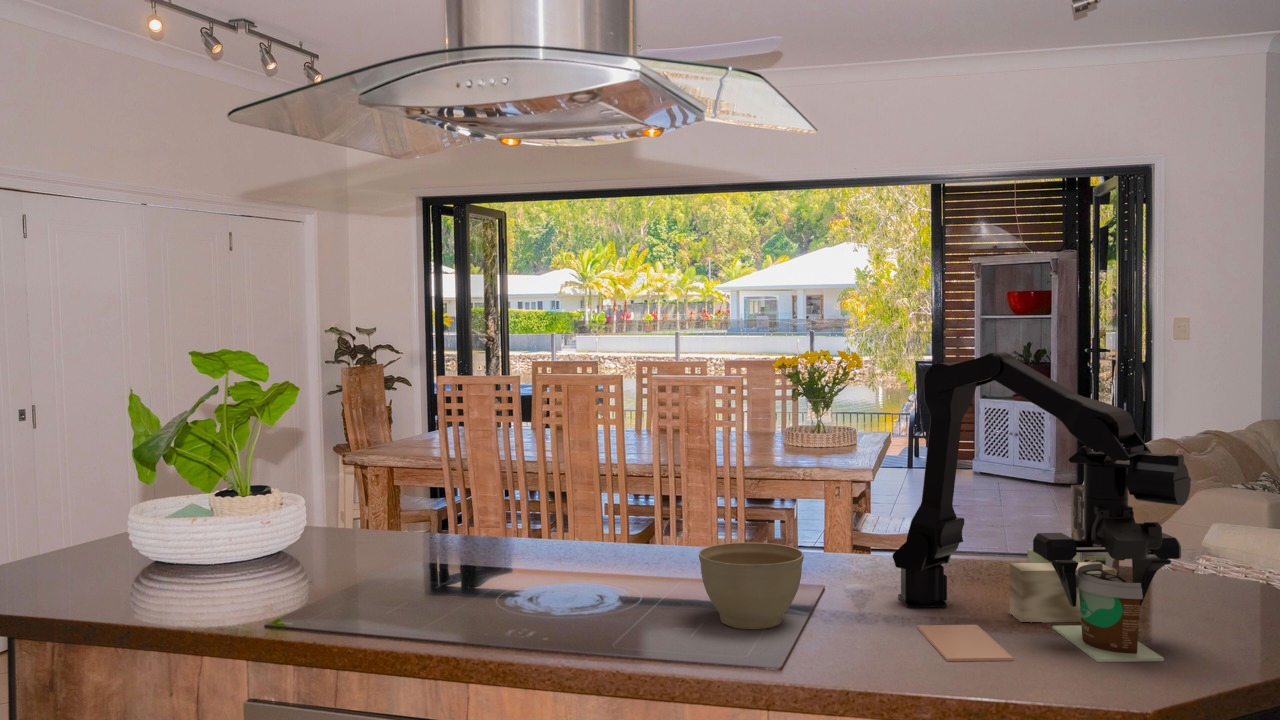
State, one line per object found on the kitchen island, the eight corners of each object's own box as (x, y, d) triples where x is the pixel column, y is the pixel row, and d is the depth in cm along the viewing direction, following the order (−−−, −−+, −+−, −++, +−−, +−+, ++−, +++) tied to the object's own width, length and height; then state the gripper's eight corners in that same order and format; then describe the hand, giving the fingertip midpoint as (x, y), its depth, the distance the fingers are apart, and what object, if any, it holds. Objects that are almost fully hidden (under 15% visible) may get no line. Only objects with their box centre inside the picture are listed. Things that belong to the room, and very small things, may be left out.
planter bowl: (824, 620, 158) (824, 551, 157) (760, 645, 146) (759, 570, 146) (743, 601, 169) (743, 536, 169) (678, 622, 158) (677, 553, 157)
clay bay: (947, 661, 138) (947, 658, 138) (917, 628, 153) (917, 625, 153) (1013, 660, 138) (1013, 657, 138) (976, 627, 153) (976, 624, 153)
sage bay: (1097, 662, 137) (1097, 659, 137) (1052, 628, 152) (1052, 625, 152) (1164, 661, 137) (1164, 658, 137) (1112, 627, 152) (1112, 625, 152)
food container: (1058, 630, 150) (1058, 563, 149) (1100, 629, 150) (1100, 562, 150) (1097, 657, 138) (1097, 584, 137) (1142, 657, 138) (1143, 584, 137)
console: (1021, 622, 155) (1021, 557, 155) (1008, 612, 161) (1008, 549, 160) (1113, 621, 155) (1113, 556, 155) (1096, 611, 161) (1097, 548, 160)
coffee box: (1120, 584, 176) (1121, 492, 176) (1081, 583, 178) (1081, 491, 177) (1107, 571, 185) (1108, 483, 185) (1070, 570, 187) (1070, 483, 186)
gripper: (1063, 508, 136) (1063, 623, 136) (1203, 506, 136) (1202, 621, 136) (1031, 493, 147) (1031, 600, 147) (1160, 492, 147) (1160, 599, 147)
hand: (1105, 605), depth 144 cm, fingers open, 9 cm apart
